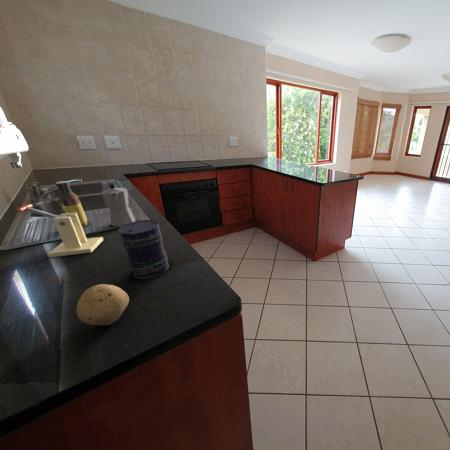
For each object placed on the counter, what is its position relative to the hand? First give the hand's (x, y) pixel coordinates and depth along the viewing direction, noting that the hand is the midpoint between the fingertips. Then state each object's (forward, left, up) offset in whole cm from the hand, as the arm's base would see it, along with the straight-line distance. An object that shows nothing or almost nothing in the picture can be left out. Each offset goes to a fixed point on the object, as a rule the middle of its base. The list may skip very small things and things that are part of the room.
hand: (7, 170), depth 72 cm
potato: (+34, -44, -29) cm, 63 cm away
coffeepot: (+16, +24, -29) cm, 41 cm away
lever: (+4, 0, -16) cm, 17 cm away
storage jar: (+38, -23, -29) cm, 53 cm away
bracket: (+9, 0, -29) cm, 30 cm away
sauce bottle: (-1, +24, -29) cm, 38 cm away
